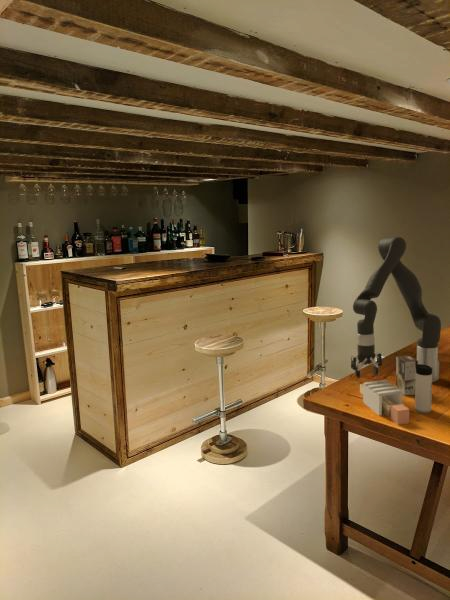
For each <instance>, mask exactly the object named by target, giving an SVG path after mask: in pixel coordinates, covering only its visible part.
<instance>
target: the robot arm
mask: <svg viewBox="0 0 450 600" xmlns="http://www.w3.org/2000/svg"><path fill="white" fill-rule="evenodd" d="M377 249H378V253H379V255H380V257H381V258H382V260H383V262H382V263H381V264H380V265H379V266H378V268H376V269H375V270H374V272H373V273H372V274H371V276H370V277H369V279H367V280H368V281H367V282H366V285H365V287H364V289H363V290H362V291H361V292H360V293H359V295H358V296H357V297H356V299H355V300H354V301H353V304H352V310H353V312H354V314H357V315H362V316H364V318H363V319H360V320H357V323H356V324H357V325H356V327H357V333H356V334H357V335H356V336H357V337H356V343H357V356H354V355H352V356H351V357H350V369H352V370H354V372H355V378H357V379H361V371H360V370H361V368H362V367H364V366H366V365H371V364H372V366H373V368H372V369H373V372H372V373H373V375H374V376H378V374H379V367H380V366H381V367H382V366H383V360H382V359H383V358H382V357H383V356H382V353H381V352H379V351H377V352H376V349H375V347H376V345H375V341H376V339H375V334H374V333H375V331H374V329H375V326H374V324H375V320H376V316H377V313H378V306H377V303H376V302H375V301H374V300H372V299H377V298H379V296H380V295H381V292H382V291H383V288H384V286H385V284H386V282H387V280H388V278H390V275H392V277H393V279H394V281H395V283H396V286H397V288H398V290H399V292H400V293H401V295H402V298H403V299H404V302H405V303H406V306H407V307H408V310H409V313H410V315H411V319H412V321H413V324H414V326H415V328H416V329H418V330H419V331H422V335H421V337H420V338H418V339H417V341H416V360H418V364H423V365H428V366H429V367H431V368H432V383H436V382H437V381H439V380H440V378H439V377H440V360H438V355H439V354H438V353H439V352H438V351H439V343H440V341H441V331H442V330H441V329H442V321H441V319H440V317H439V316H438V315H435V314H433V313H429V311H427V309H426V307H425V305H424V303H423V291H422V290H423V289H422V286H421V283H420V282H419V279H418V278H417V276H416V275H415V273H414V272H413V271H412V270H411V269H409V268H408V267H407V266H406V265H405V264H404V263H403V262H402V261H401V259H402V257H403V256H404V254H405V253H406V249H407V243H406V241H405V239H404V238H403V237H400V236H393V237H385V238H382V239H381V240H379V241H378V246H377ZM375 352H376V353H375ZM375 358H376V361H375Z"/></svg>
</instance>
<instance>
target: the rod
mask: <svg viewBox="0 0 450 600" xmlns="http://www.w3.org/2000/svg"><path fill="white" fill-rule="evenodd" d="M363 384H364V383H361V384H359V393H360V395H362V396H363ZM393 405H395V404H393V403H392V402H391V401H389V400H388V399H387V398H385V397H384V396H382V411H383V412H382V413H384V414H385V415H386V416H387V417H391V406H393Z"/></svg>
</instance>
